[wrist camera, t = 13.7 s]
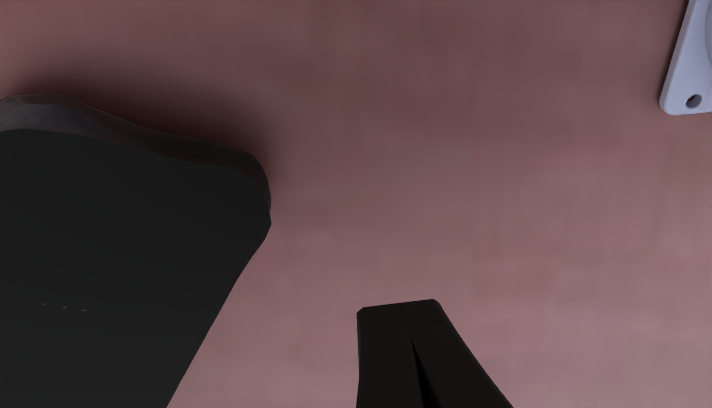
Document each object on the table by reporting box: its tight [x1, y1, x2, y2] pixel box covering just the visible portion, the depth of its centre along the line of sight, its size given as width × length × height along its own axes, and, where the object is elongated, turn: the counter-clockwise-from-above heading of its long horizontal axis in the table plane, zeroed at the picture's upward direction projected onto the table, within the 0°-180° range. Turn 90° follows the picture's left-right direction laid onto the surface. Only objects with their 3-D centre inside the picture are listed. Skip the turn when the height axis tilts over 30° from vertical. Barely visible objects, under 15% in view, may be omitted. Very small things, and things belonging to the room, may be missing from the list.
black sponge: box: [0, 94, 271, 408], centre depth 21 cm, size 16×8×4 cm, turn 152°
